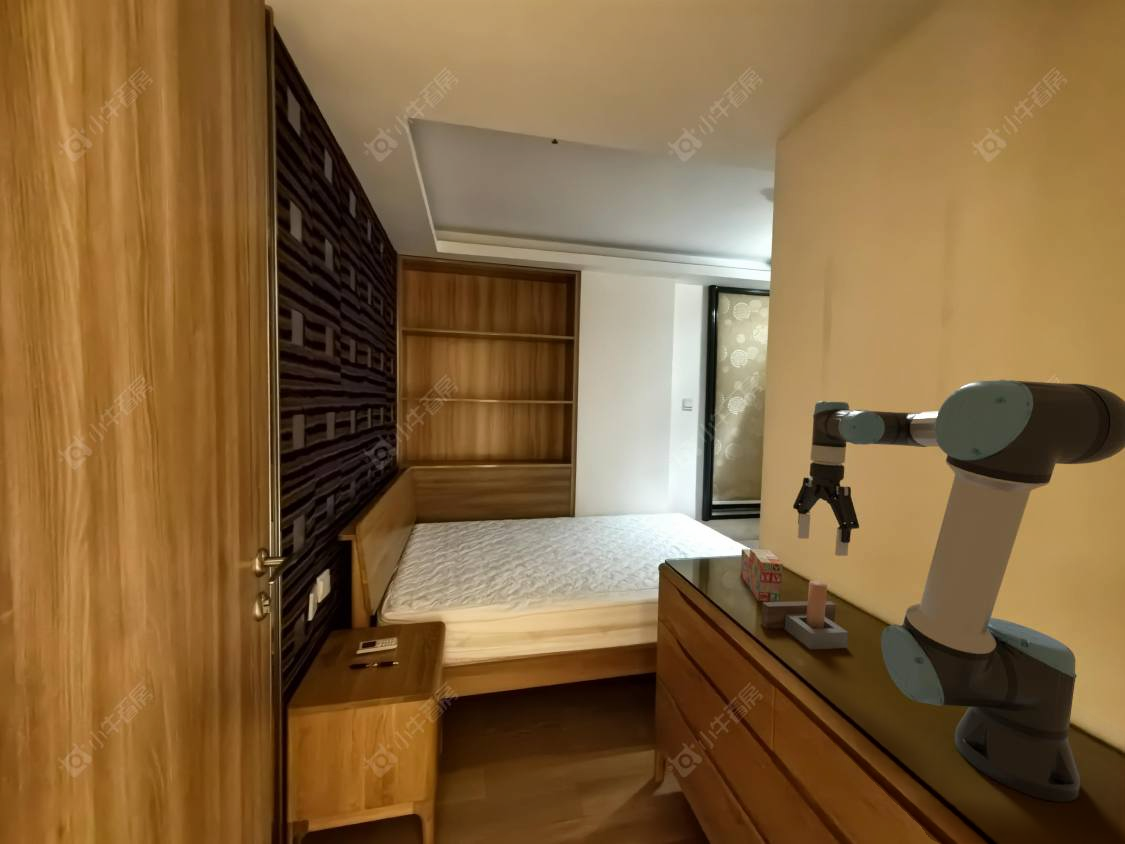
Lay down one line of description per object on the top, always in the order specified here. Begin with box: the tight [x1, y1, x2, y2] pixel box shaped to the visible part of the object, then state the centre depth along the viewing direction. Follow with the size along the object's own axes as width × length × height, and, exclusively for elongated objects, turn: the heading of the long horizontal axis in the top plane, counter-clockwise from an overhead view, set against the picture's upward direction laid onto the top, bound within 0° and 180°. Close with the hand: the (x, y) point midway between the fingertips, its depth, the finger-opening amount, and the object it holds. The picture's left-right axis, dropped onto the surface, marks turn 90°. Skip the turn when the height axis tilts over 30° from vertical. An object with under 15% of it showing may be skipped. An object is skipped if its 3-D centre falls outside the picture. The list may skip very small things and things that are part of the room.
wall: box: [760, 600, 837, 629], centre depth 126 cm, size 2×20×6 cm, turn 99°
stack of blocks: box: [740, 548, 784, 602], centre depth 151 cm, size 21×6×12 cm, turn 173°
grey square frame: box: [784, 614, 849, 651], centre depth 120 cm, size 10×10×4 cm
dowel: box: [806, 580, 828, 629], centre depth 120 cm, size 4×4×14 cm
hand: (821, 546), depth 119 cm, fingers open, 13 cm apart
